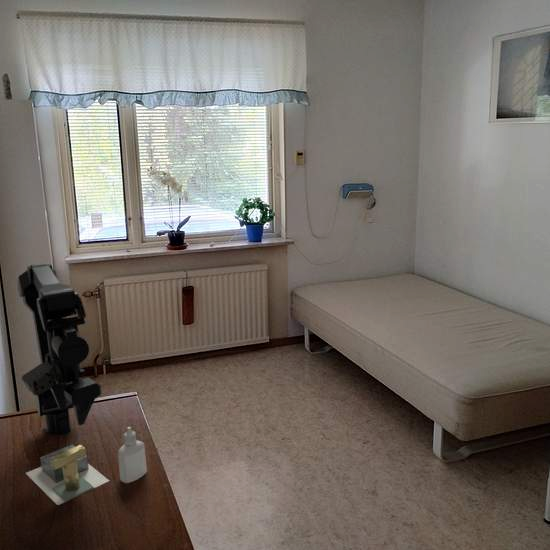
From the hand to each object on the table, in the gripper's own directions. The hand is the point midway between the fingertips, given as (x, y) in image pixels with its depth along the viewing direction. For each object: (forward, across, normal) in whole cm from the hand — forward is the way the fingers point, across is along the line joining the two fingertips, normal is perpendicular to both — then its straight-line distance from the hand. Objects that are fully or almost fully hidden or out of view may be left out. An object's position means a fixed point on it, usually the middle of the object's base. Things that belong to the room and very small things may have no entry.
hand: (71, 416), depth 119 cm
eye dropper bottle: (+12, +13, +6) cm, 19 cm away
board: (+12, +3, -4) cm, 13 cm away
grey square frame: (+11, 0, -3) cm, 12 cm away
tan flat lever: (+11, +8, -5) cm, 14 cm away
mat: (+11, +8, -5) cm, 15 cm away
